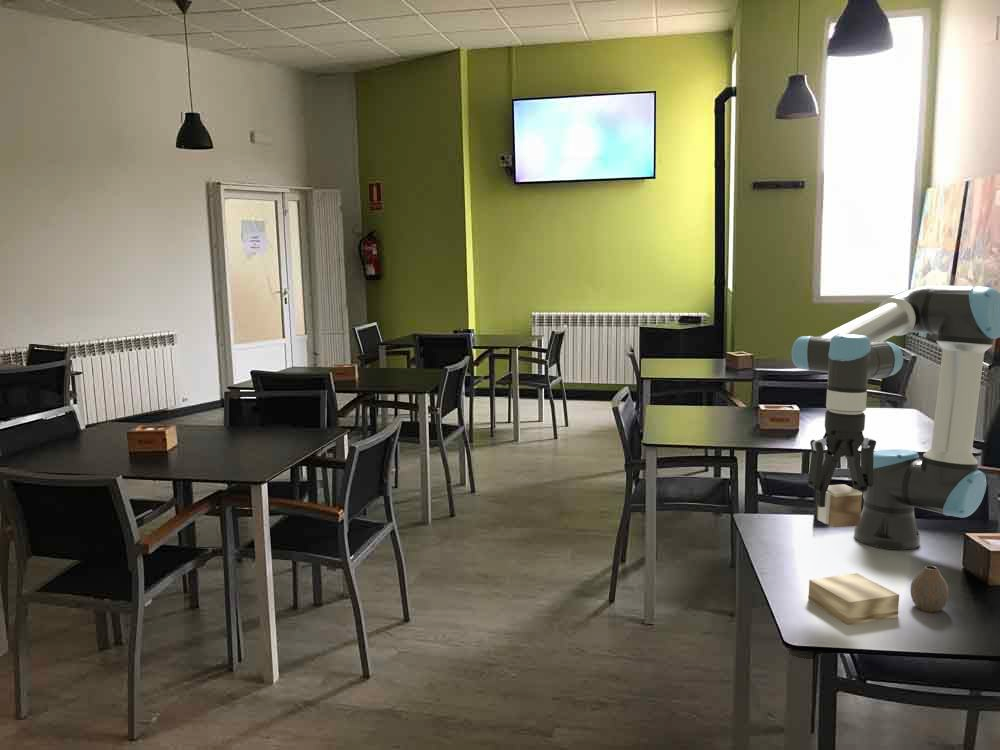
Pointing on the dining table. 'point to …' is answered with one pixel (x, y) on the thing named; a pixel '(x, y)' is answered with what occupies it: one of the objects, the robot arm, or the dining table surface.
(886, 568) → the dining table surface
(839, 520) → the pale wooden block
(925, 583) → the vase
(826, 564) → the dining table surface
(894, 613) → the beech base
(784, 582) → the dining table surface
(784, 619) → the dining table surface
